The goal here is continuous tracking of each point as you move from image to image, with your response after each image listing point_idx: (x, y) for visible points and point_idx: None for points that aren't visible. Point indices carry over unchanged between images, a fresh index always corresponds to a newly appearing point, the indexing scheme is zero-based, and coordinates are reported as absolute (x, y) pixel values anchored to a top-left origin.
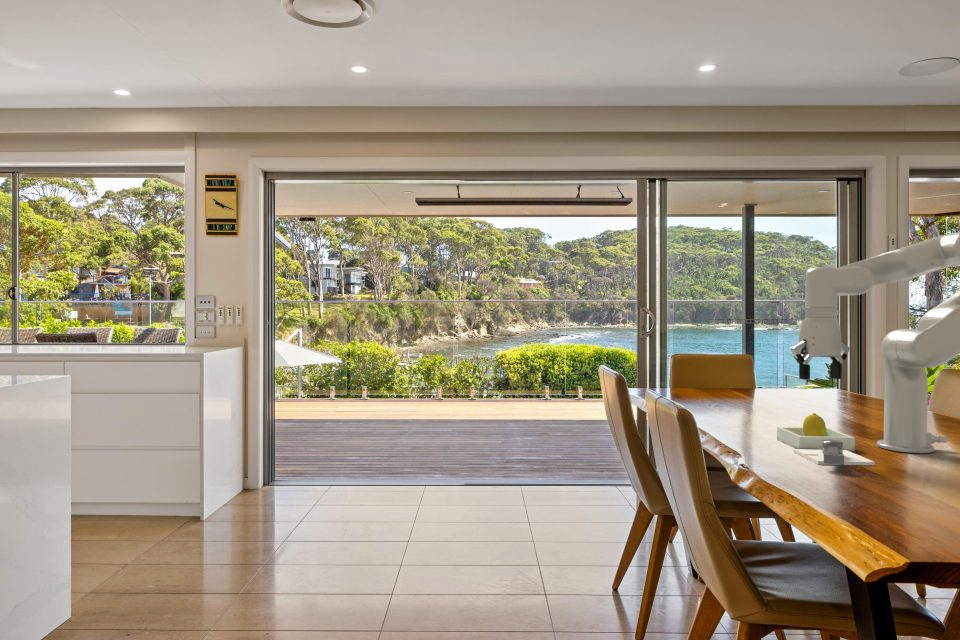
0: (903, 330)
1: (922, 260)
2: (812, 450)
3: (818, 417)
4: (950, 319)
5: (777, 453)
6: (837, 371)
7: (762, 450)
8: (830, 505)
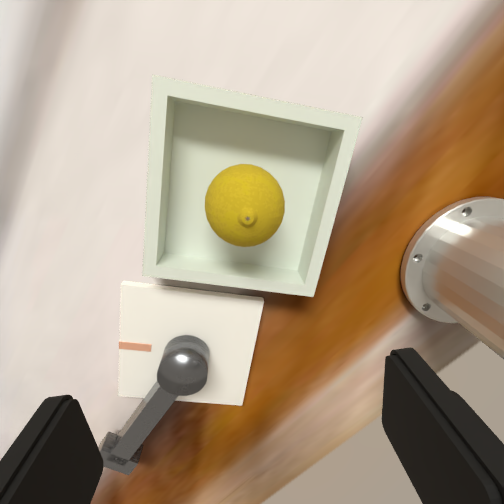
0: None
1: None
2: (166, 302)
3: (249, 239)
4: None
5: (70, 289)
6: (415, 479)
7: (38, 252)
8: None
